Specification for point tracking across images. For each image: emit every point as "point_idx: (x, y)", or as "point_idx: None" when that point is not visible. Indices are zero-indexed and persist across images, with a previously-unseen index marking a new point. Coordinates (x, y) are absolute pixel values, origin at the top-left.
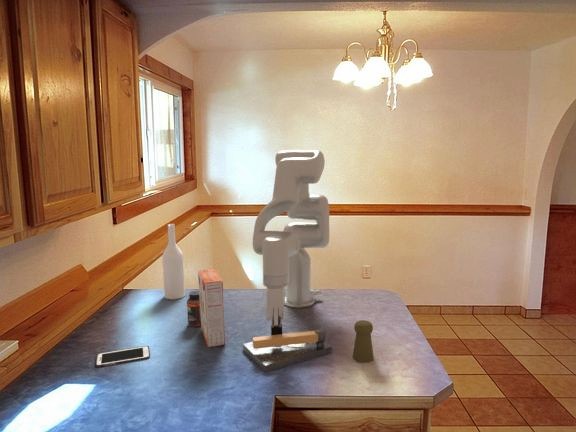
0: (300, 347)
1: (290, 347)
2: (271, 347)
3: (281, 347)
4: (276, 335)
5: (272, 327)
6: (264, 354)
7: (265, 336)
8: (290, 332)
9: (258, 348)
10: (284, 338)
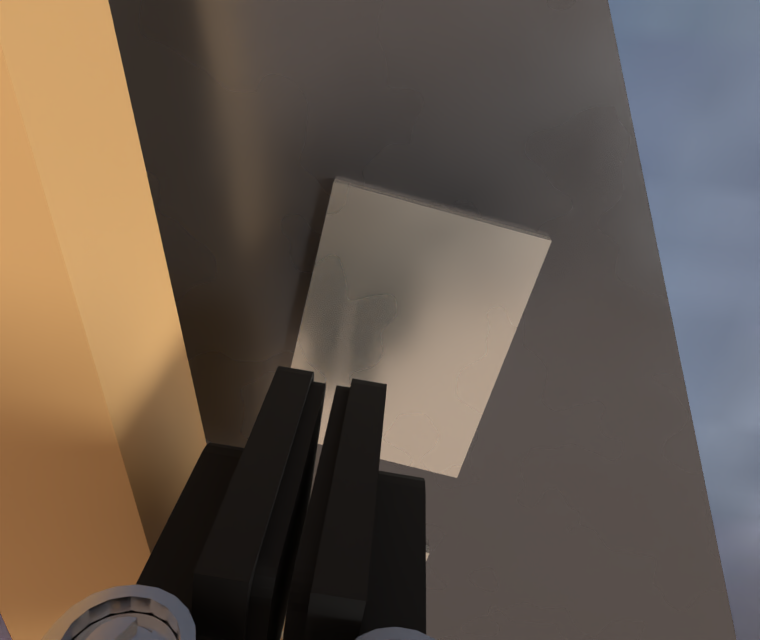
0: None
1: None
2: (266, 291)
3: (249, 429)
4: (104, 522)
5: (91, 609)
6: None
7: (36, 285)
8: (715, 608)
9: (246, 53)
10: (16, 614)
